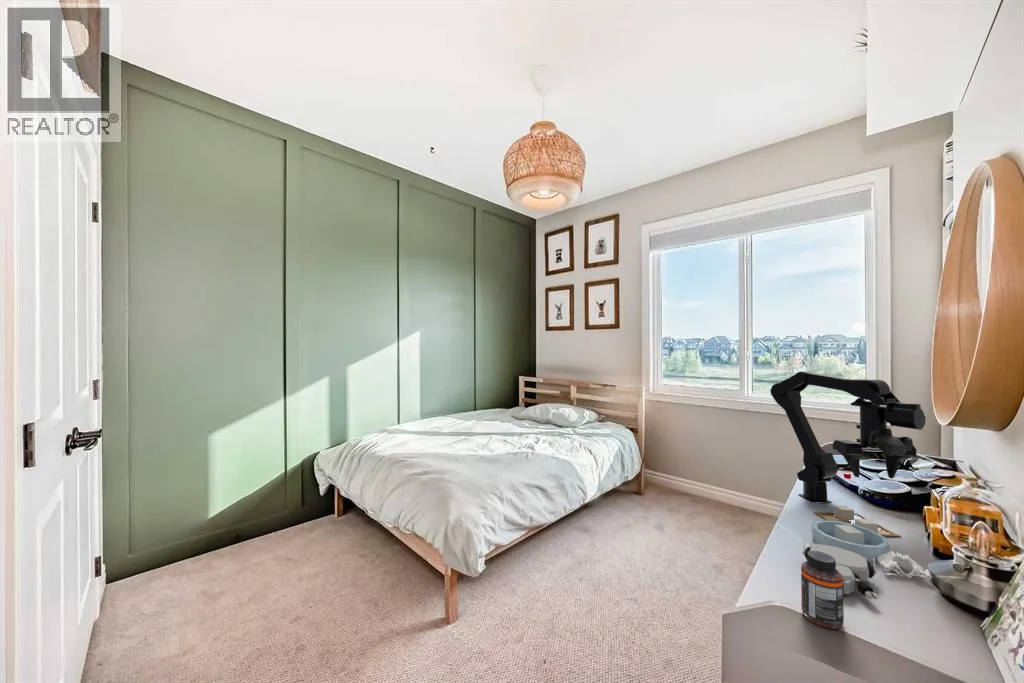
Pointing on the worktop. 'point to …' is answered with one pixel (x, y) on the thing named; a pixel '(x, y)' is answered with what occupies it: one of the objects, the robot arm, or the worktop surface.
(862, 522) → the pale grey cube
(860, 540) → the beige cube
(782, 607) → the worktop surface
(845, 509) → the tan cube
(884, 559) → the white animal skull
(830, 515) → the tray
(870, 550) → the bowl
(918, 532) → the worktop surface
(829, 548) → the robot toy
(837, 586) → the supplement bottle
